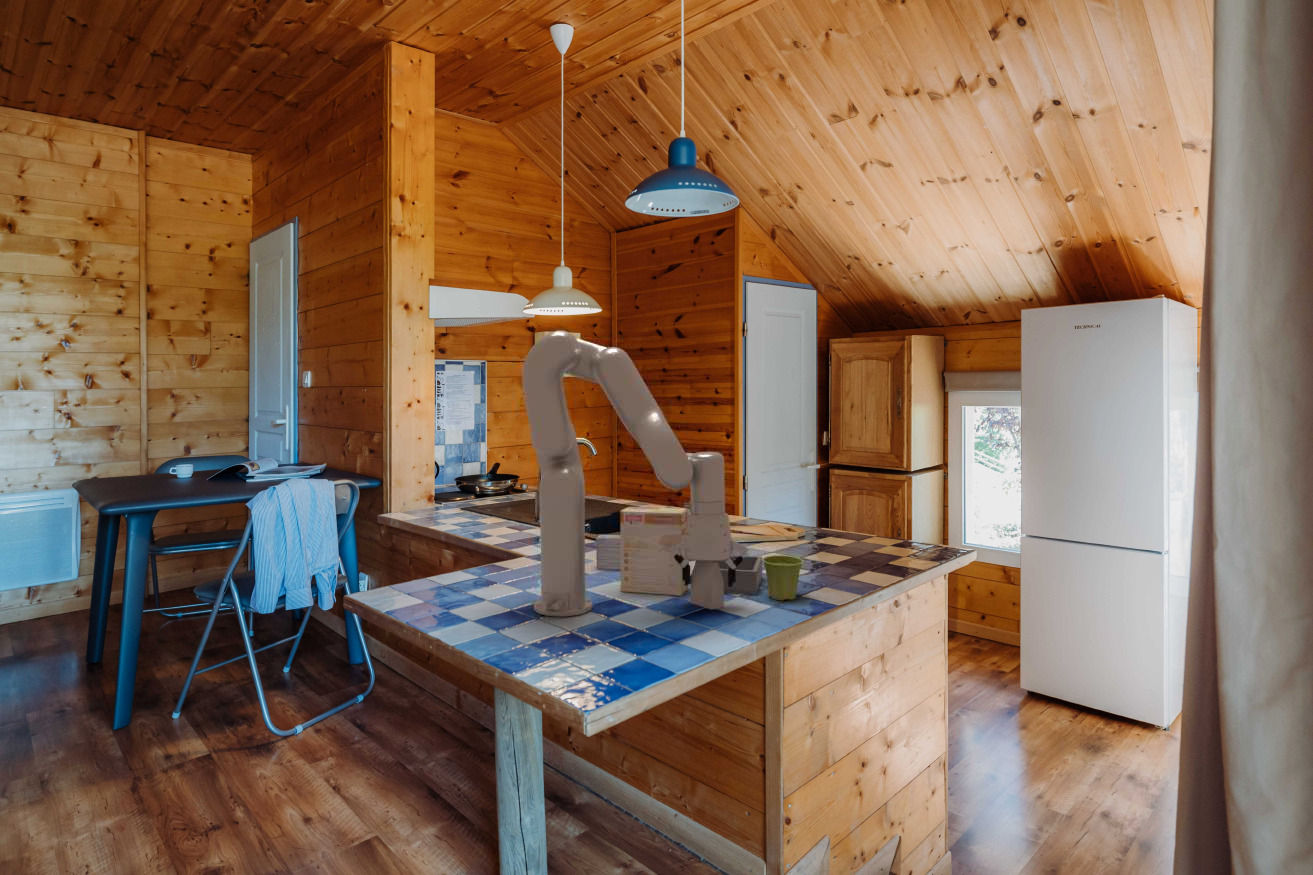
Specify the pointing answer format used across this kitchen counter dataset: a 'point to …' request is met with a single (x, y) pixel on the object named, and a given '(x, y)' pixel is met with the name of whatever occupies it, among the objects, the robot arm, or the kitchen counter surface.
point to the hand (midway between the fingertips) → (709, 584)
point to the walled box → (743, 575)
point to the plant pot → (782, 576)
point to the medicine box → (608, 552)
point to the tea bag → (707, 585)
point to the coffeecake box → (652, 550)
